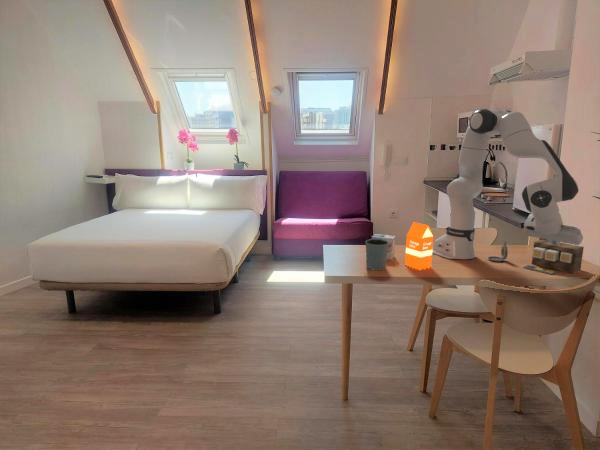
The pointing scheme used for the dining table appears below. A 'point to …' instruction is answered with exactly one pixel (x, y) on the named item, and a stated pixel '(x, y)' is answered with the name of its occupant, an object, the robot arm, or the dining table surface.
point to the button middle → (552, 254)
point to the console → (559, 264)
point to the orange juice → (419, 246)
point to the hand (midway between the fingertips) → (555, 243)
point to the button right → (566, 257)
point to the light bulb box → (390, 243)
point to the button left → (539, 252)
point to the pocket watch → (504, 256)
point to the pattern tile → (540, 269)
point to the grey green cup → (376, 253)
